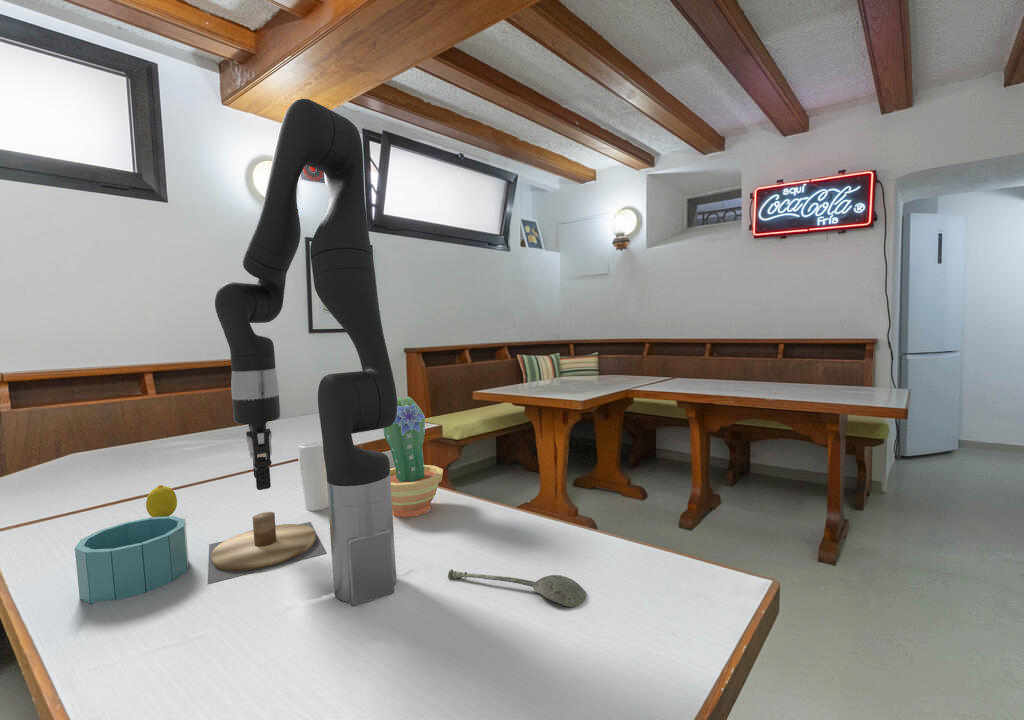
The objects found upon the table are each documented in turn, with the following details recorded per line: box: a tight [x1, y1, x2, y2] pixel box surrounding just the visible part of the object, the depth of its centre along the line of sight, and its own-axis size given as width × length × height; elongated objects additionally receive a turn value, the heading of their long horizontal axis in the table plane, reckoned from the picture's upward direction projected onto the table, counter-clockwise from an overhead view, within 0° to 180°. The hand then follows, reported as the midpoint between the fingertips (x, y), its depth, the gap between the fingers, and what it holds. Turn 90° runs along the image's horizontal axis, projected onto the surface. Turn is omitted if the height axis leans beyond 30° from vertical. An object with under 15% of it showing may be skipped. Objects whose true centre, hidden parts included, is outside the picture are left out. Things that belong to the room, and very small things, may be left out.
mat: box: [206, 521, 328, 585], centre depth 89 cm, size 18×18×1 cm
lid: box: [211, 511, 316, 571], centre depth 89 cm, size 17×17×6 cm
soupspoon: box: [447, 568, 587, 608], centre depth 73 cm, size 22×3×7 cm
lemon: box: [145, 484, 178, 518], centre depth 107 cm, size 6×6×8 cm
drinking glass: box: [297, 439, 329, 512], centre depth 111 cm, size 7×7×15 cm
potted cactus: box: [382, 396, 444, 518], centre depth 107 cm, size 15×15×25 cm
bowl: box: [74, 515, 190, 605], centre depth 80 cm, size 14×14×8 cm
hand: (262, 482), depth 89 cm, fingers open, 8 cm apart
